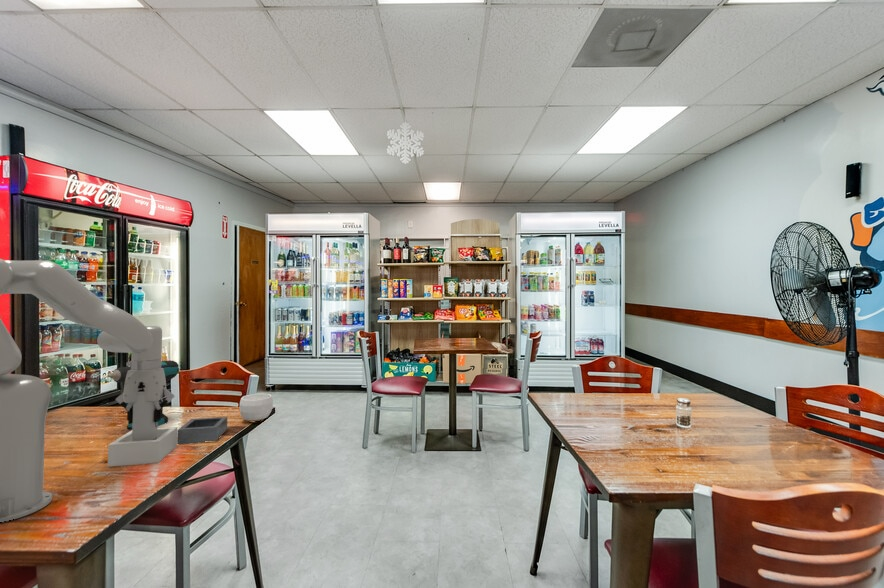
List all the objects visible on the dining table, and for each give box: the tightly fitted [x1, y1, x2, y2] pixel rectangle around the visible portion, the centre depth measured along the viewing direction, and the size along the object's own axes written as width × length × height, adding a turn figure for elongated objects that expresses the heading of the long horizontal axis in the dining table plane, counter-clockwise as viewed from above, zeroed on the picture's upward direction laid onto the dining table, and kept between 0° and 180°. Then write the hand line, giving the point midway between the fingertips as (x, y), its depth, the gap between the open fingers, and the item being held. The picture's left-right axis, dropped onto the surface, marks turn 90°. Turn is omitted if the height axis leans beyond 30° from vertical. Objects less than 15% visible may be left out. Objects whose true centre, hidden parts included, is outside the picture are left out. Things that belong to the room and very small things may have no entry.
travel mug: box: [131, 381, 158, 441], centre depth 119 cm, size 6×7×20 cm
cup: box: [239, 392, 274, 422], centre depth 154 cm, size 12×12×10 cm
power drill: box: [106, 360, 180, 430], centre depth 144 cm, size 26×9×25 cm, turn 168°
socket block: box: [177, 416, 228, 445], centre depth 135 cm, size 12×12×5 cm
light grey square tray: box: [107, 426, 179, 468], centre depth 119 cm, size 13×13×6 cm
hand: (144, 421), depth 118 cm, fingers closed on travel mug, 6 cm apart
